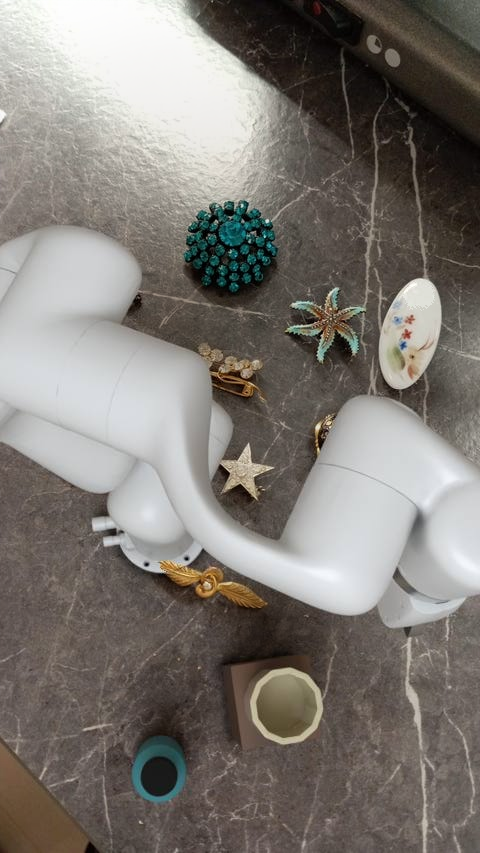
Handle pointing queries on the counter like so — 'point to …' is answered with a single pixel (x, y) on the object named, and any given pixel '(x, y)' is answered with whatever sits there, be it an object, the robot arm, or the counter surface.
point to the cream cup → (283, 704)
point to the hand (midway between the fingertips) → (382, 573)
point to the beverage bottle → (159, 769)
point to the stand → (235, 690)
